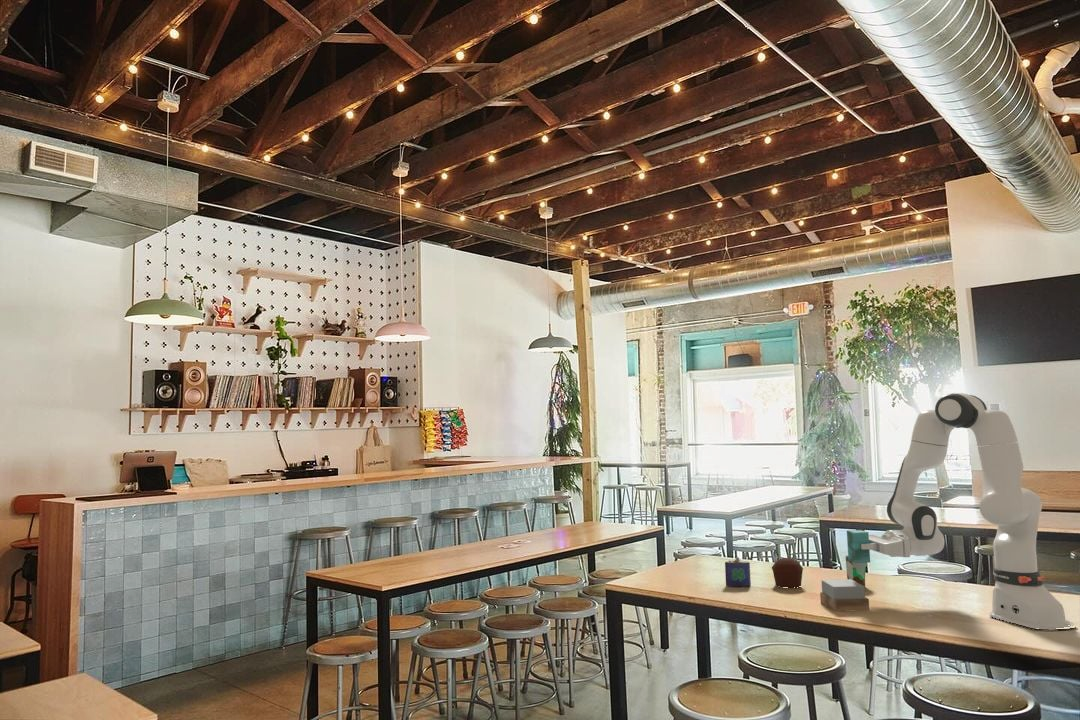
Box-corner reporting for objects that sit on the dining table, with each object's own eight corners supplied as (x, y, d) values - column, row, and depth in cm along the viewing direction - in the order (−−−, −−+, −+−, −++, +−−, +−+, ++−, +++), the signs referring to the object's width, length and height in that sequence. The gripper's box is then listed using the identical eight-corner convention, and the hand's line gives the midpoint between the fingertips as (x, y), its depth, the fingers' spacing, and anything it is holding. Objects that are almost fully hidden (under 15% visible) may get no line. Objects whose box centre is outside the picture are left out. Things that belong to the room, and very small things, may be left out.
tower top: (864, 598, 231) (864, 586, 231) (833, 599, 231) (833, 586, 232) (851, 591, 241) (851, 579, 241) (822, 592, 241) (821, 579, 242)
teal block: (870, 562, 239) (868, 532, 240) (855, 563, 239) (854, 532, 240) (862, 559, 244) (860, 530, 245) (848, 560, 244) (846, 530, 245)
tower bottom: (869, 611, 231) (868, 598, 231) (836, 613, 230) (836, 600, 230) (852, 603, 241) (851, 590, 242) (820, 604, 241) (820, 592, 241)
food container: (872, 590, 256) (870, 562, 257) (854, 590, 258) (852, 561, 258) (864, 582, 268) (862, 555, 269) (846, 582, 270) (845, 555, 270)
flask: (749, 585, 268) (748, 556, 269) (751, 587, 265) (750, 557, 266) (725, 585, 268) (723, 556, 269) (726, 587, 266) (725, 558, 266)
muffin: (775, 581, 273) (773, 555, 274) (805, 583, 268) (804, 556, 269) (770, 588, 263) (769, 560, 264) (802, 590, 258) (800, 562, 259)
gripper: (877, 529, 254) (840, 530, 253) (911, 538, 233) (871, 540, 232) (878, 547, 253) (841, 548, 252) (912, 558, 233) (872, 559, 232)
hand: (855, 544), depth 242 cm, fingers closed on teal block, 5 cm apart
